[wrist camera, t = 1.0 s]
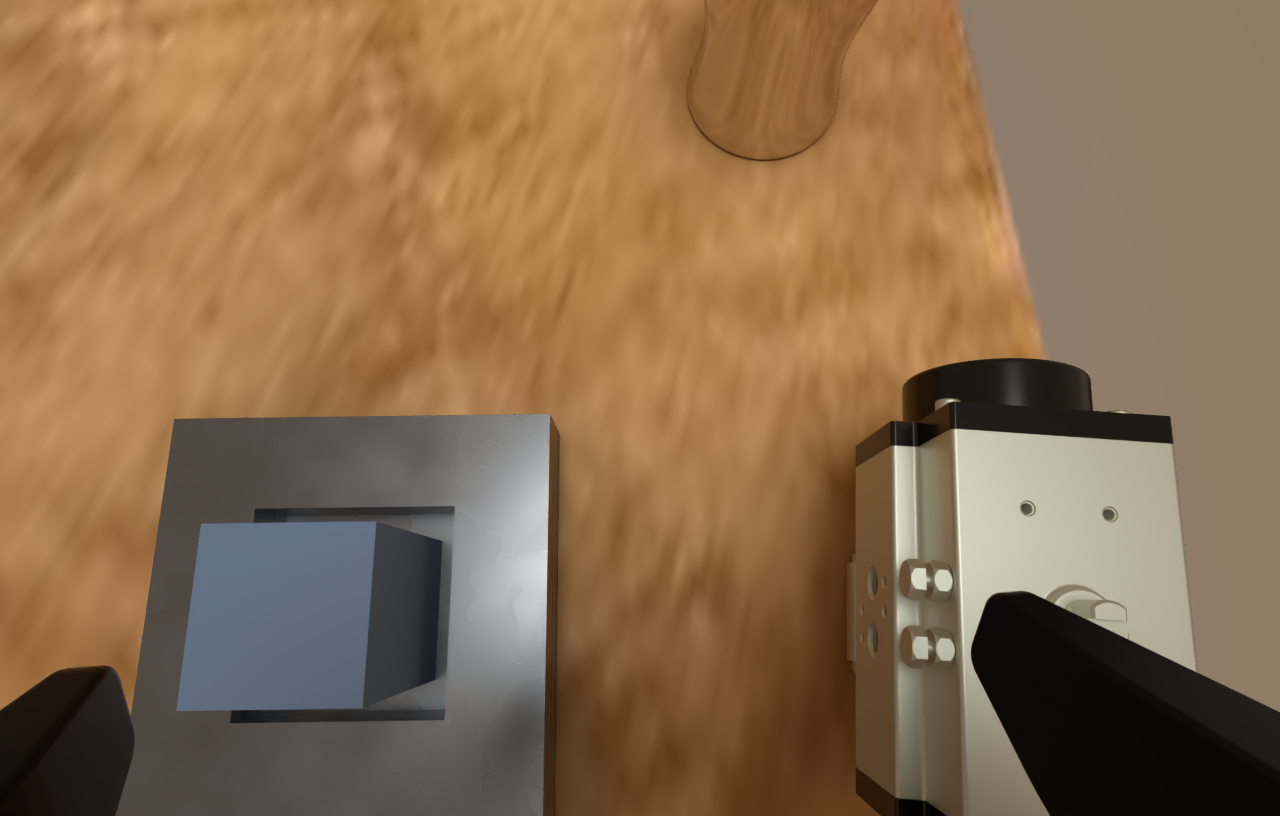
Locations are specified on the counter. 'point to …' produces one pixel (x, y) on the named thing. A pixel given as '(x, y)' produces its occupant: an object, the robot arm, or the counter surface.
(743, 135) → the beer glass
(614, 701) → the counter surface
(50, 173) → the counter surface
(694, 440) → the counter surface
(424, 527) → the socket plate
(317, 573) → the slate gray peg
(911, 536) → the pneumatic valve
